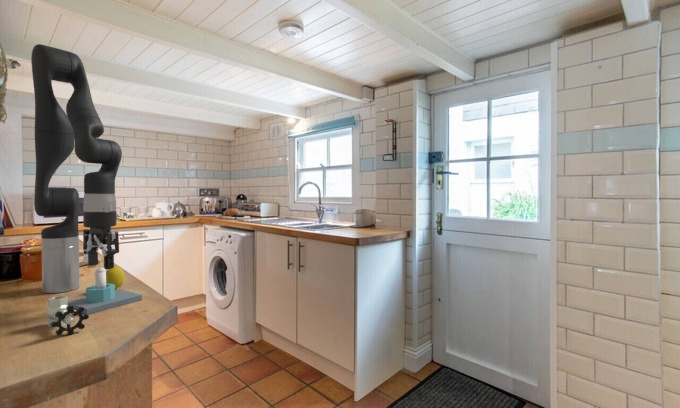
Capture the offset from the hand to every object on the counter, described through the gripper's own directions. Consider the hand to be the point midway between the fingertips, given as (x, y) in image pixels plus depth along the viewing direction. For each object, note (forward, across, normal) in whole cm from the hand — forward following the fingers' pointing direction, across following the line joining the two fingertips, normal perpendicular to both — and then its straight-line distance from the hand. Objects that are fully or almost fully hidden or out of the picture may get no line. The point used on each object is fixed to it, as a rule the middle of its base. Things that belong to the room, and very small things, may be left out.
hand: (100, 266), depth 92 cm
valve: (+11, +11, -13) cm, 20 cm away
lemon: (+11, -11, +9) cm, 18 cm away
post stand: (+11, 0, 0) cm, 11 cm away
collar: (+9, 0, 0) cm, 9 cm away
